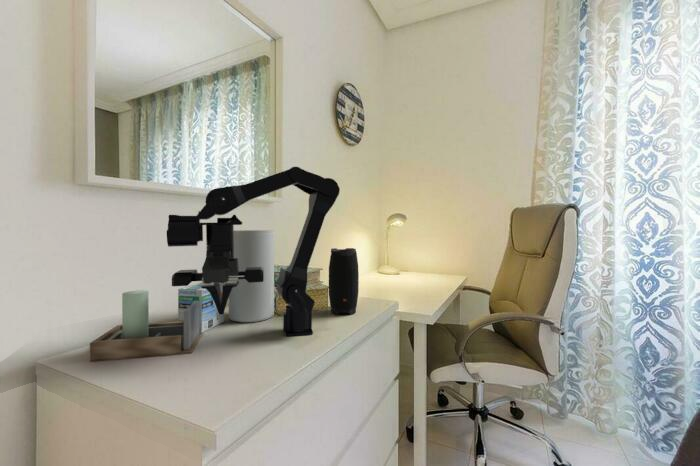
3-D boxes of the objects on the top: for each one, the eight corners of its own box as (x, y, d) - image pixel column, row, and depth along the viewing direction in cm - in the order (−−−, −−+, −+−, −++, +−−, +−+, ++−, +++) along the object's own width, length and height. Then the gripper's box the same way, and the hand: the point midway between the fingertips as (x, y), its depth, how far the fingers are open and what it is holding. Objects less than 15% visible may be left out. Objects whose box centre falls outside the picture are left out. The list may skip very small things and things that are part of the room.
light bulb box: (201, 333, 76) (201, 289, 76) (176, 332, 77) (176, 288, 77) (225, 321, 87) (225, 282, 87) (203, 319, 88) (203, 281, 88)
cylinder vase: (231, 325, 83) (231, 230, 82) (226, 314, 94) (226, 230, 93) (278, 319, 88) (279, 230, 88) (268, 309, 99) (268, 230, 99)
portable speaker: (354, 317, 91) (354, 250, 91) (324, 314, 94) (324, 249, 94) (361, 309, 99) (361, 248, 99) (333, 307, 102) (333, 247, 102)
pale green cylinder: (153, 340, 69) (153, 290, 69) (138, 348, 65) (138, 294, 64) (133, 339, 69) (132, 290, 69) (116, 347, 65) (116, 294, 64)
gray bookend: (199, 334, 74) (199, 300, 74) (189, 349, 65) (188, 311, 65) (123, 339, 71) (123, 304, 70) (101, 356, 61) (101, 315, 61)
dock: (202, 334, 75) (202, 320, 75) (191, 353, 65) (191, 335, 64) (117, 341, 71) (117, 325, 71) (90, 361, 60) (90, 342, 60)
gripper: (162, 248, 61) (163, 328, 61) (262, 246, 65) (263, 321, 66) (178, 245, 71) (179, 313, 72) (263, 243, 76) (264, 307, 76)
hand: (221, 314), depth 71 cm, fingers closed
